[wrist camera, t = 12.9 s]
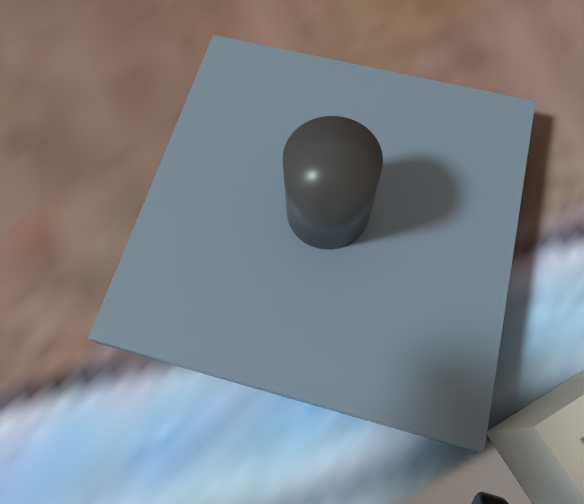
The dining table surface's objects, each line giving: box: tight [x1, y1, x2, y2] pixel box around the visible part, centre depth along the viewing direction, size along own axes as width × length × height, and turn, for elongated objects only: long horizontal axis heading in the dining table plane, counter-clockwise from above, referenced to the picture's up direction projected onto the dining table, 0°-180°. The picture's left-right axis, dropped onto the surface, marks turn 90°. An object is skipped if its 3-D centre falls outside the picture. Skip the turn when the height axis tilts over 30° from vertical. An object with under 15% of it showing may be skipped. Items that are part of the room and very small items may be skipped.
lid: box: [88, 35, 535, 452], centre depth 22 cm, size 16×16×6 cm
